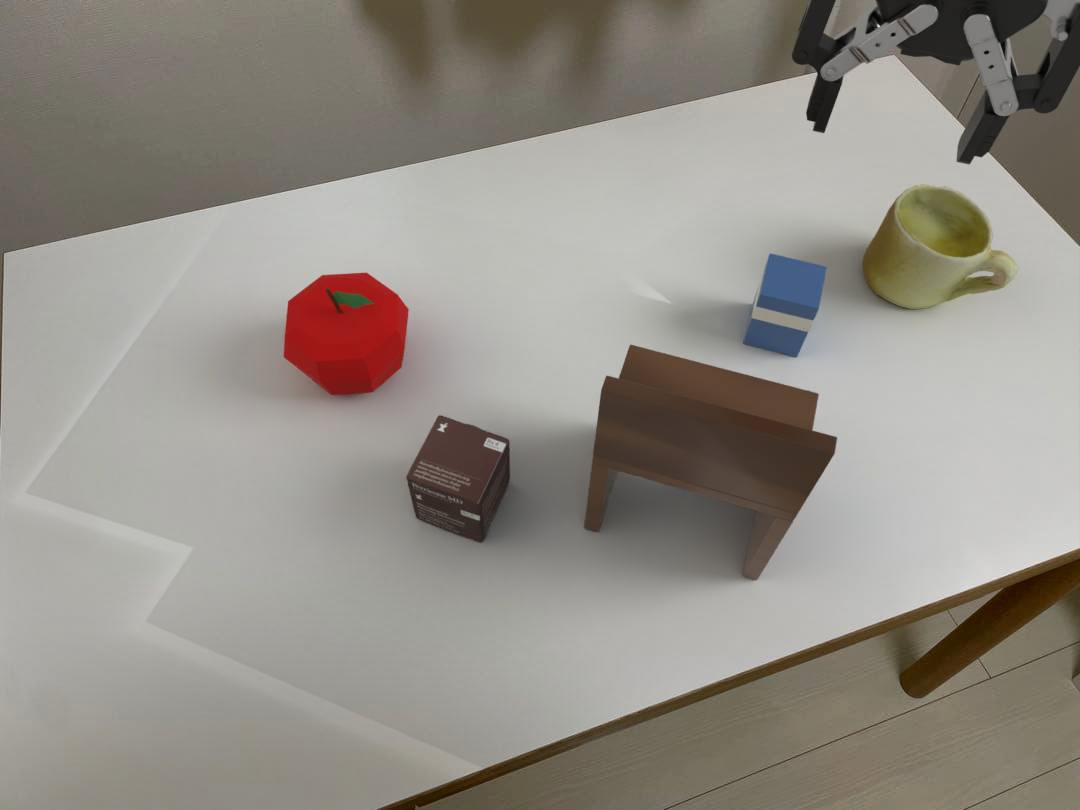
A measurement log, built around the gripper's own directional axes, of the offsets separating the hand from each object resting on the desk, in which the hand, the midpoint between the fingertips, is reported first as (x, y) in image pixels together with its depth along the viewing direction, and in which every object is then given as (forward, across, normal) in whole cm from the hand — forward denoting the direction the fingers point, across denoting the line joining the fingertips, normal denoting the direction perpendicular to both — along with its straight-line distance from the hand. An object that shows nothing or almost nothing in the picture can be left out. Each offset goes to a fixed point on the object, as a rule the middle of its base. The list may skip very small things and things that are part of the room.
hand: (890, 139), depth 51 cm
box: (+28, -23, -18) cm, 41 cm away
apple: (+28, -37, -8) cm, 47 cm away
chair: (+28, -6, -13) cm, 31 cm away
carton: (+28, -2, +7) cm, 29 cm away
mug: (+28, +11, +17) cm, 35 cm away
